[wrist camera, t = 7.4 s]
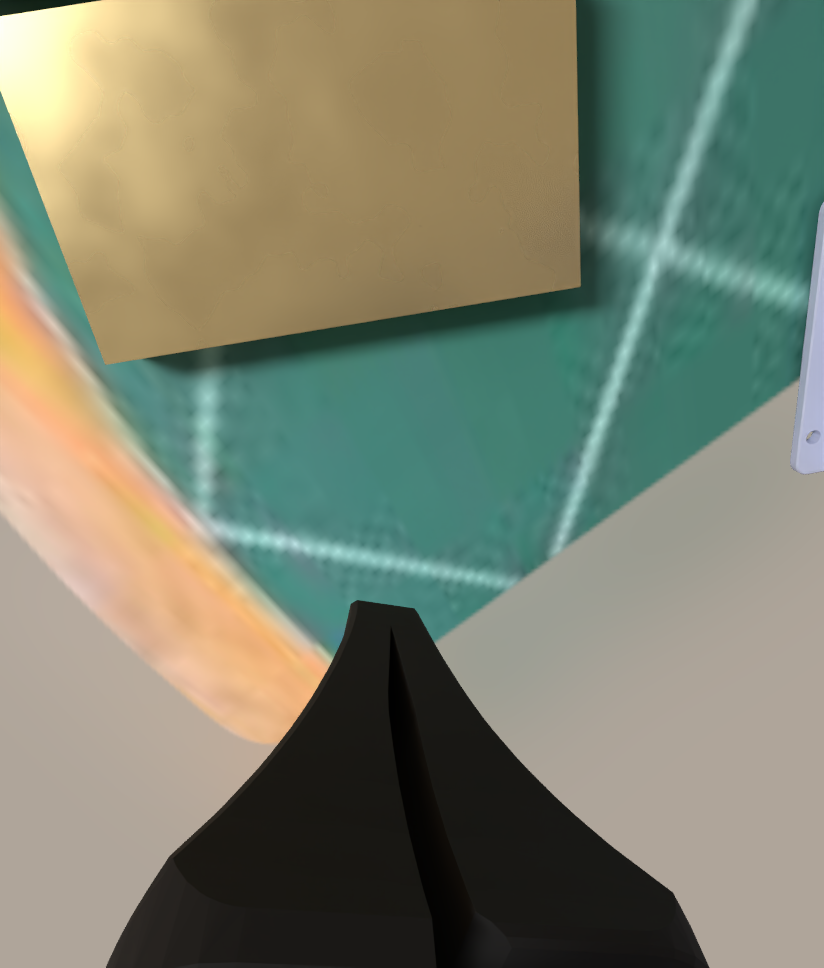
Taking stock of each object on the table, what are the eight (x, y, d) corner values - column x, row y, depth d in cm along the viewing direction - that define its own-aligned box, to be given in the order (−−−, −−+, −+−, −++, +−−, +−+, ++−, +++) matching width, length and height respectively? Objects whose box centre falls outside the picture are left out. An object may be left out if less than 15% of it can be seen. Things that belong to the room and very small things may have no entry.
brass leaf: (559, 281, 18) (596, 290, 15) (131, 351, 18) (86, 374, 15) (541, -257, 13) (592, -398, 10) (-54, -165, 13) (-176, -281, 10)
